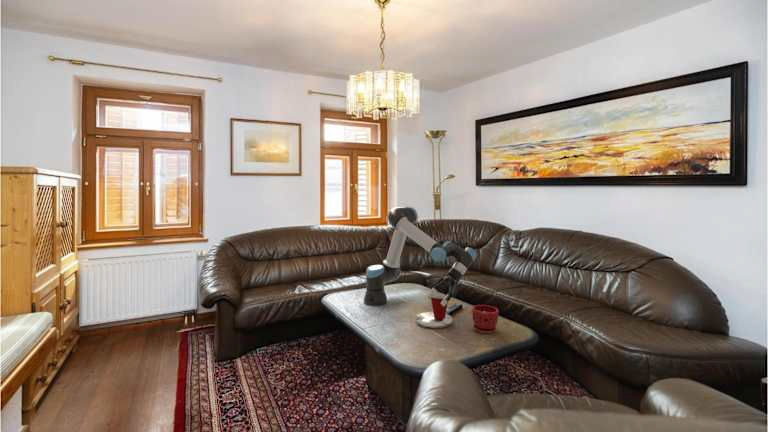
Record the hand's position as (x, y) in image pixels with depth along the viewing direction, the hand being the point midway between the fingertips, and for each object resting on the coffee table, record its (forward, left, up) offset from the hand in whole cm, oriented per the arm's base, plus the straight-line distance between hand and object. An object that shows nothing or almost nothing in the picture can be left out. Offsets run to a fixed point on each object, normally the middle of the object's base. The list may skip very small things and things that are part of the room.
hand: (434, 301), depth 204 cm
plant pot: (+22, +17, -12) cm, 30 cm away
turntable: (0, 0, -12) cm, 12 cm away
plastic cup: (+3, +1, -9) cm, 9 cm away
